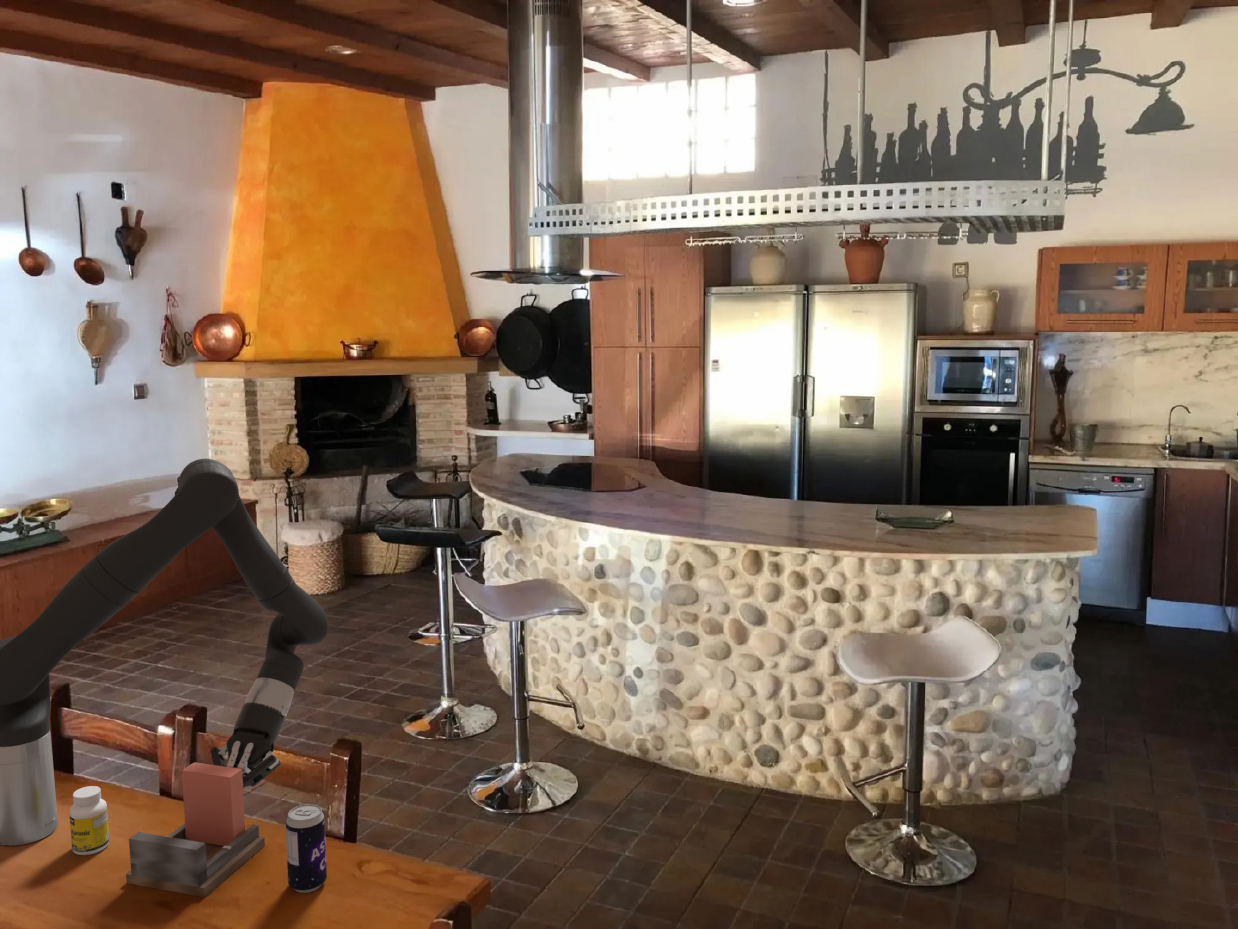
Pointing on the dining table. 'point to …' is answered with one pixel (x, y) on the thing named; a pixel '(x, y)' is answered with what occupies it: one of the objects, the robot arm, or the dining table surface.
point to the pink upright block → (213, 803)
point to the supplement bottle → (88, 821)
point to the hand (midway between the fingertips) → (224, 808)
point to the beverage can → (306, 848)
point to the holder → (188, 860)
